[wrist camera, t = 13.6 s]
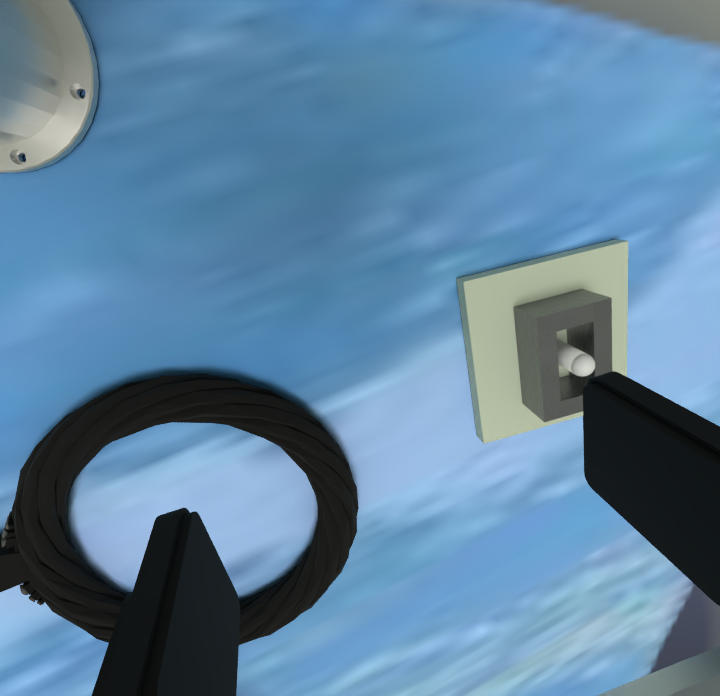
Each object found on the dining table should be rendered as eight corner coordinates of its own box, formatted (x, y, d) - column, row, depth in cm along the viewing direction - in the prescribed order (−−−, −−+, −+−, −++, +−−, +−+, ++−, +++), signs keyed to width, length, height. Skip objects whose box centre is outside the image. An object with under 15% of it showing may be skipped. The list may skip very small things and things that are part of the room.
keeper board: (456, 278, 35) (491, 295, 29) (614, 239, 37) (679, 247, 31) (476, 435, 41) (510, 476, 35) (615, 396, 42) (670, 429, 36)
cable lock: (370, 631, 42) (30, 701, 38) (363, 597, 46) (52, 658, 41) (349, 363, 33) (-105, 419, 29) (342, 347, 36) (-62, 394, 32)
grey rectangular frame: (513, 306, 35) (536, 317, 32) (581, 288, 36) (611, 297, 33) (522, 403, 39) (544, 422, 35) (585, 385, 39) (612, 402, 36)
